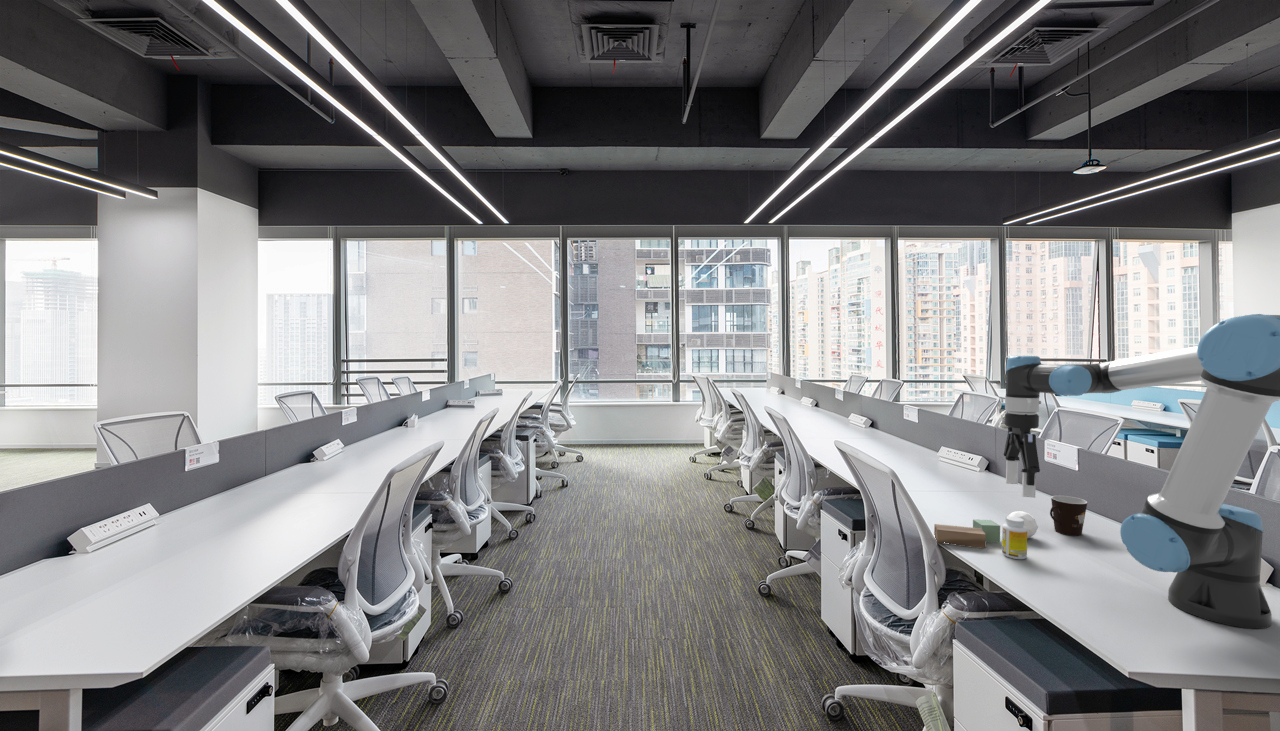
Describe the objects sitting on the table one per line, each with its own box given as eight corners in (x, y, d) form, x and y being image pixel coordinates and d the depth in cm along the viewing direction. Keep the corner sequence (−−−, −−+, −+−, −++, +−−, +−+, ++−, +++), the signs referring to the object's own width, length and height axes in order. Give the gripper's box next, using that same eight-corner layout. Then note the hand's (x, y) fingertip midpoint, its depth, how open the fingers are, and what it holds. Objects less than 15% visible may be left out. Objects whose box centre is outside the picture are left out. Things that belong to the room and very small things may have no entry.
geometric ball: (1025, 545, 161) (1043, 524, 160) (1025, 543, 155) (1044, 522, 154) (1000, 527, 166) (1017, 507, 165) (998, 524, 159) (1016, 504, 159)
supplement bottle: (1032, 558, 144) (1033, 521, 144) (1015, 561, 143) (1016, 523, 142) (1012, 551, 149) (1013, 514, 149) (996, 553, 148) (997, 516, 148)
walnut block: (985, 548, 151) (985, 534, 151) (937, 543, 156) (937, 529, 155) (981, 542, 156) (981, 528, 156) (934, 537, 160) (934, 523, 160)
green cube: (999, 542, 156) (1000, 525, 156) (981, 542, 156) (981, 525, 156) (990, 536, 161) (990, 519, 161) (972, 535, 161) (973, 519, 161)
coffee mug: (1073, 527, 167) (1074, 495, 167) (1093, 537, 159) (1094, 504, 158) (1033, 526, 169) (1034, 495, 168) (1051, 536, 160) (1052, 503, 160)
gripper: (1056, 419, 133) (1054, 504, 134) (1022, 407, 157) (1020, 479, 158) (1021, 418, 136) (1019, 501, 137) (992, 406, 159) (990, 477, 160)
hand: (1019, 490), depth 147 cm, fingers open, 13 cm apart
